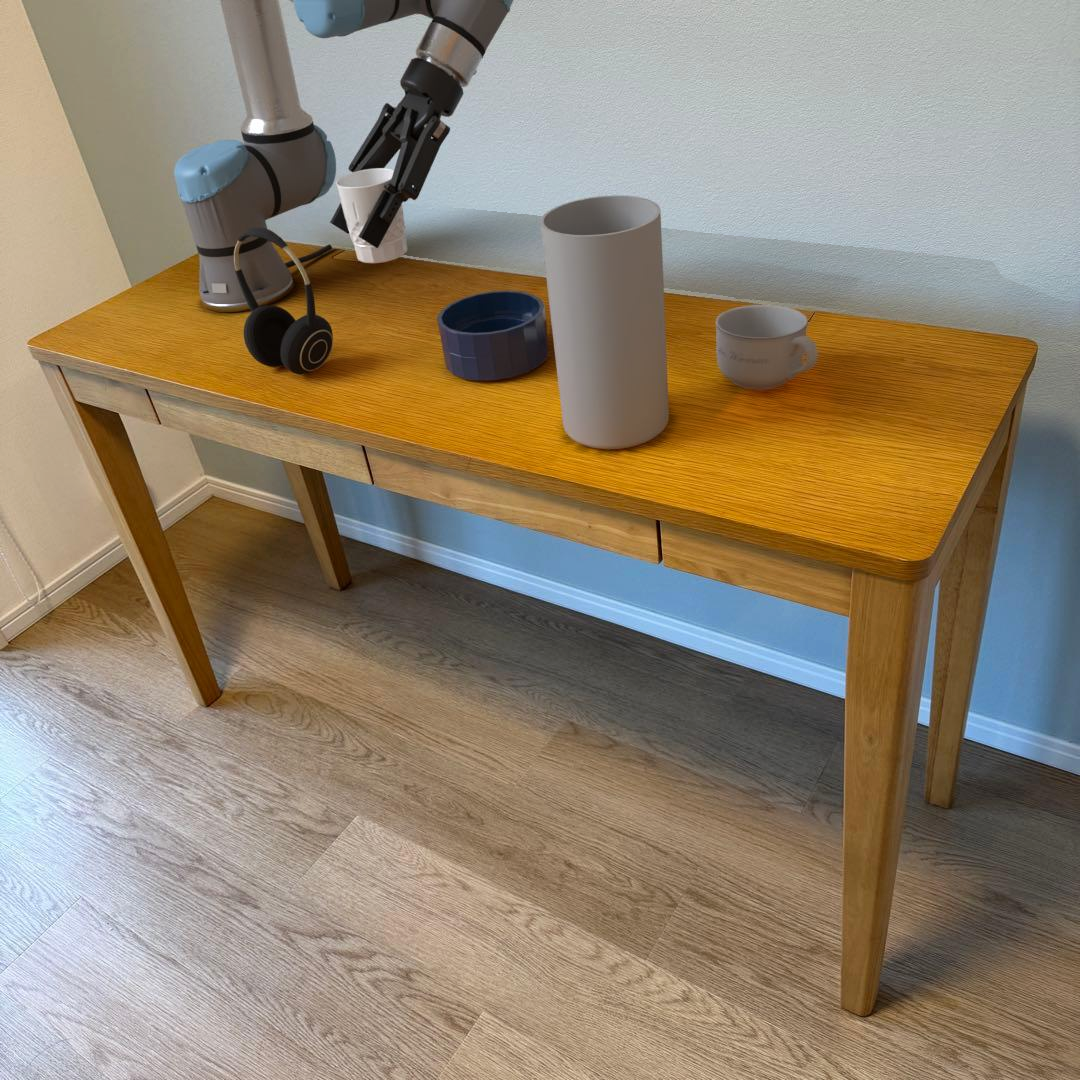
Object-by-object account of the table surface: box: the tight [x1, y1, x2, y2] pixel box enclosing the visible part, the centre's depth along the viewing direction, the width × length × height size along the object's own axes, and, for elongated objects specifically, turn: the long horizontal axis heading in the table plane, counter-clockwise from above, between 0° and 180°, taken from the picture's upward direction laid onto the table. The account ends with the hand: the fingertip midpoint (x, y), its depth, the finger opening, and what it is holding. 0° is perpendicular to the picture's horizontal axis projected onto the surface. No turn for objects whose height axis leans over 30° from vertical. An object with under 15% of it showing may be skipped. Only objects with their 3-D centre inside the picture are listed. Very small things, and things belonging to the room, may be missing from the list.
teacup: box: [715, 304, 819, 391], centre depth 120 cm, size 14×11×8 cm
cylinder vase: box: [539, 194, 670, 450], centre depth 111 cm, size 12×12×25 cm
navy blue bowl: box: [436, 289, 550, 382], centre depth 135 cm, size 14×14×7 cm
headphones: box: [234, 228, 334, 376], centre depth 136 cm, size 9×15×20 cm, turn 54°
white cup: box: [335, 167, 408, 264], centre depth 129 cm, size 8×8×10 cm
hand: (353, 235), depth 129 cm, fingers closed on white cup, 8 cm apart
